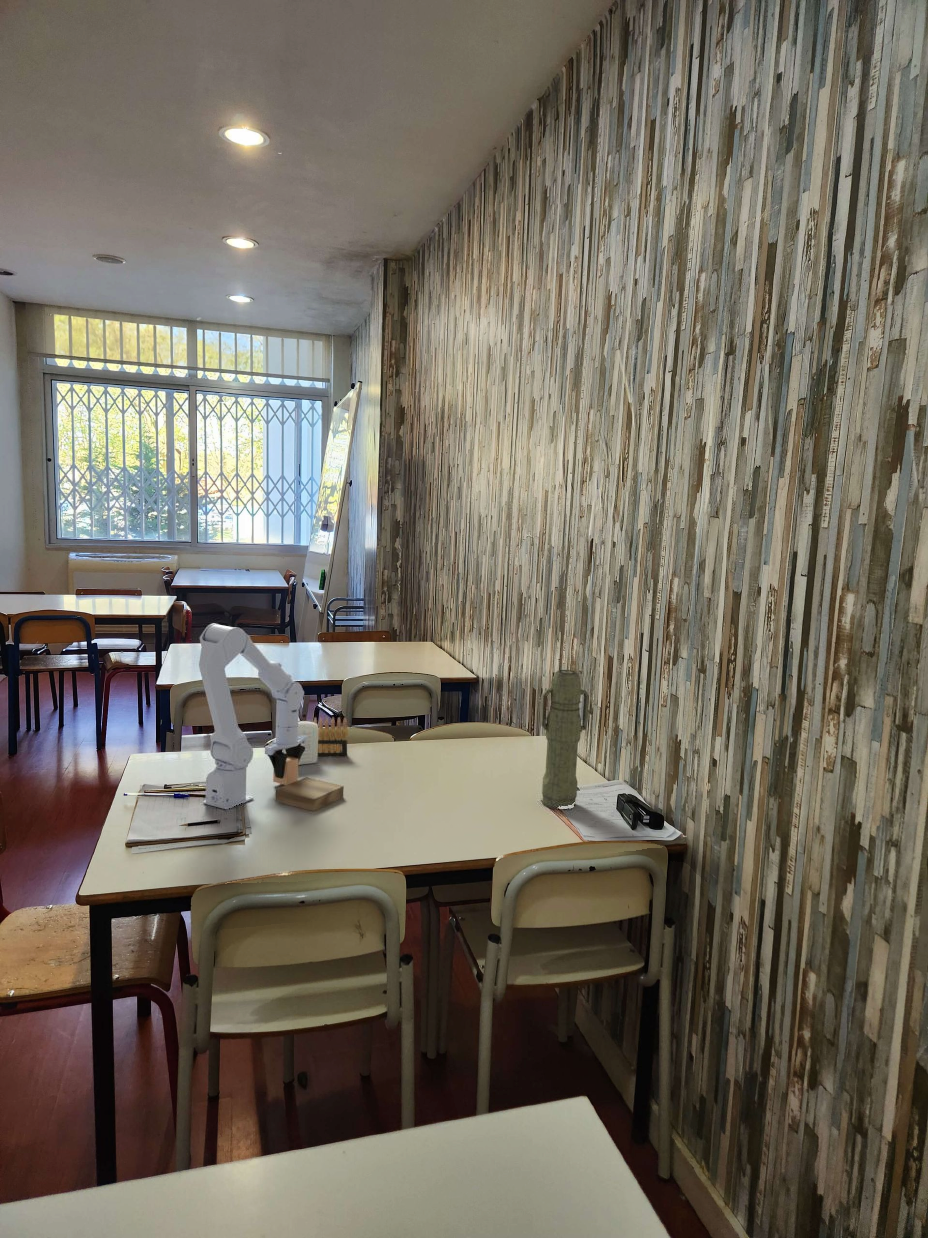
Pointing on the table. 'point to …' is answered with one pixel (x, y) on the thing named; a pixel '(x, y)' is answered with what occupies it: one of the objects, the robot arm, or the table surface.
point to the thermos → (562, 737)
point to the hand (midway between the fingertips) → (285, 775)
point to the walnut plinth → (309, 793)
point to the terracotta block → (288, 772)
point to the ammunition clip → (332, 739)
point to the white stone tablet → (308, 742)
